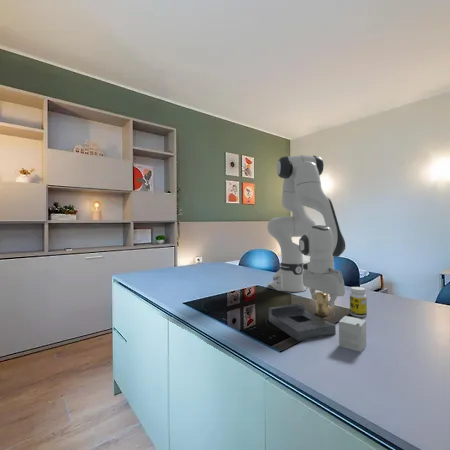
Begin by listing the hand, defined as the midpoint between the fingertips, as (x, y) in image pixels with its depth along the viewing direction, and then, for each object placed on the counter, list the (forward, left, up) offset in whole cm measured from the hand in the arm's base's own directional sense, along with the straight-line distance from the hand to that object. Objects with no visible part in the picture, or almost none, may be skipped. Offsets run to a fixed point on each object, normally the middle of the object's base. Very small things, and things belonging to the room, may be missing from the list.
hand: (322, 302), depth 104 cm
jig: (+8, -16, -5) cm, 18 cm away
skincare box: (+25, -10, -5) cm, 27 cm away
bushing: (0, 0, -5) cm, 5 cm away
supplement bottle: (+6, +12, -5) cm, 14 cm away
